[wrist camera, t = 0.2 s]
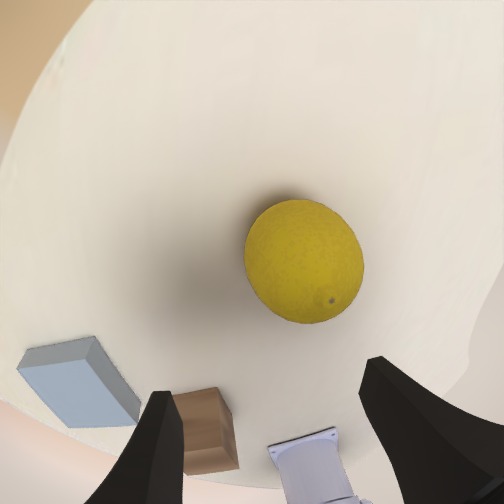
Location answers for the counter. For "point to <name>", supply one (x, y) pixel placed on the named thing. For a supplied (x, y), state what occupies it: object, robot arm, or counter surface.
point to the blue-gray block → (80, 384)
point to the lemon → (303, 261)
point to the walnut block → (206, 432)
